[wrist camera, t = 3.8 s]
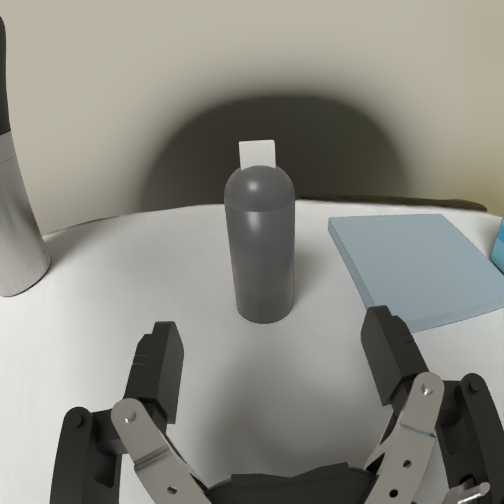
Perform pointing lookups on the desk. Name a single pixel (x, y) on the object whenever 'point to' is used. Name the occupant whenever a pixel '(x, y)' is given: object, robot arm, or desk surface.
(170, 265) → the desk surface
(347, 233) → the plate
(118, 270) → the desk surface
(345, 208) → the desk surface
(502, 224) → the data package
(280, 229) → the dark grey bottle
